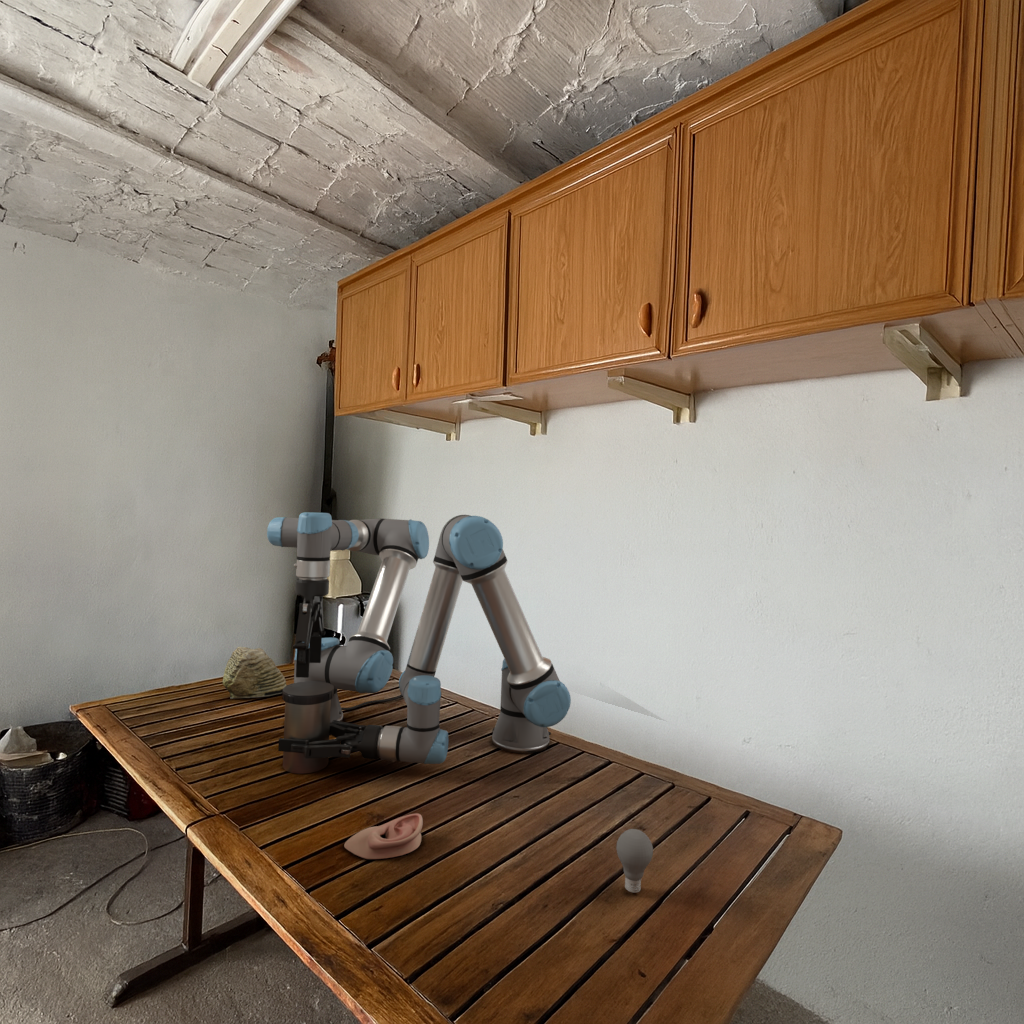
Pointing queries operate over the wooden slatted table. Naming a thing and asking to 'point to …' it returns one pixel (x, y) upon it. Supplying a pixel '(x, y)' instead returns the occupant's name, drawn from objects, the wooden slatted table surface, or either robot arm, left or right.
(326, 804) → the wooden slatted table surface
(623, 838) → the light bulb
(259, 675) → the fossil
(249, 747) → the wooden slatted table surface
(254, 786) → the wooden slatted table surface
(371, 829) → the anatomical model
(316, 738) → the jar
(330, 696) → the lid
